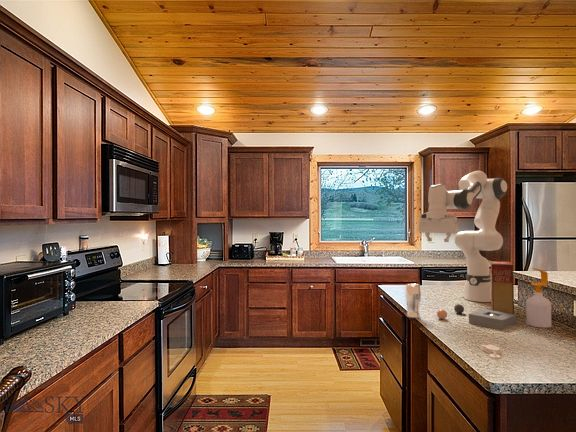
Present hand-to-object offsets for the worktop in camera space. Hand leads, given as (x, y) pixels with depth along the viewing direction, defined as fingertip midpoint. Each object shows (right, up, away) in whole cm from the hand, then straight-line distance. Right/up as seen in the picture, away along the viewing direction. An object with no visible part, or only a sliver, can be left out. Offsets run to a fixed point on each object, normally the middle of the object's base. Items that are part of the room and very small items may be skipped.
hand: (437, 241), depth 199 cm
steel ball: (+12, -34, -31) cm, 47 cm away
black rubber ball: (+5, -34, -13) cm, 37 cm away
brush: (-8, -35, -66) cm, 75 cm away
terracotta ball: (-7, -34, -23) cm, 42 cm away
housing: (+12, -34, -30) cm, 47 cm away
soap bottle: (+30, -34, -34) cm, 57 cm away
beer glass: (-19, -34, -18) cm, 43 cm away
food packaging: (+24, -34, -17) cm, 45 cm away
